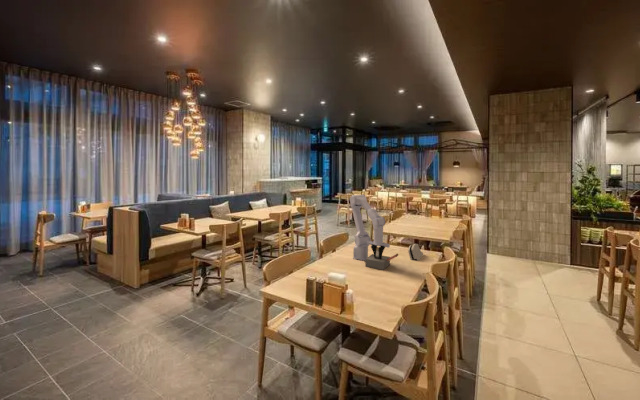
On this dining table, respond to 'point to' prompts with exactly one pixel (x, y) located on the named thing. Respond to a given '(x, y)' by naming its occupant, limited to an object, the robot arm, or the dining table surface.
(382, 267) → the pin block
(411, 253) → the hinge
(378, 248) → the pin
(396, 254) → the bar
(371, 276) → the dining table surface
